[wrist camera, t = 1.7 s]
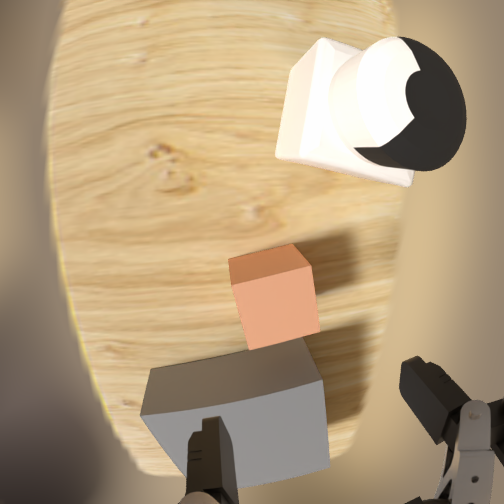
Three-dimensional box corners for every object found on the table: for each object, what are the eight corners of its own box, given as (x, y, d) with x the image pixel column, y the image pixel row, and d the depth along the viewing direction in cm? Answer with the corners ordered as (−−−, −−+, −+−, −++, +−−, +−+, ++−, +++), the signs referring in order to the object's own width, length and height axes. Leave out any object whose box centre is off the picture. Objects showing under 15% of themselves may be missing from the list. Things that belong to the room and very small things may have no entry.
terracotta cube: (228, 258, 23) (231, 285, 18) (292, 243, 23) (311, 265, 18) (242, 315, 25) (249, 350, 20) (301, 300, 25) (320, 331, 20)
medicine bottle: (375, 94, 20) (484, 65, 9) (361, 178, 22) (471, 204, 11) (289, 67, 19) (359, -6, 8) (273, 158, 21) (337, 159, 10)
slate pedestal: (150, 369, 25) (139, 415, 19) (302, 336, 26) (322, 379, 20) (198, 452, 30) (199, 492, 24) (315, 428, 30) (330, 467, 24)
